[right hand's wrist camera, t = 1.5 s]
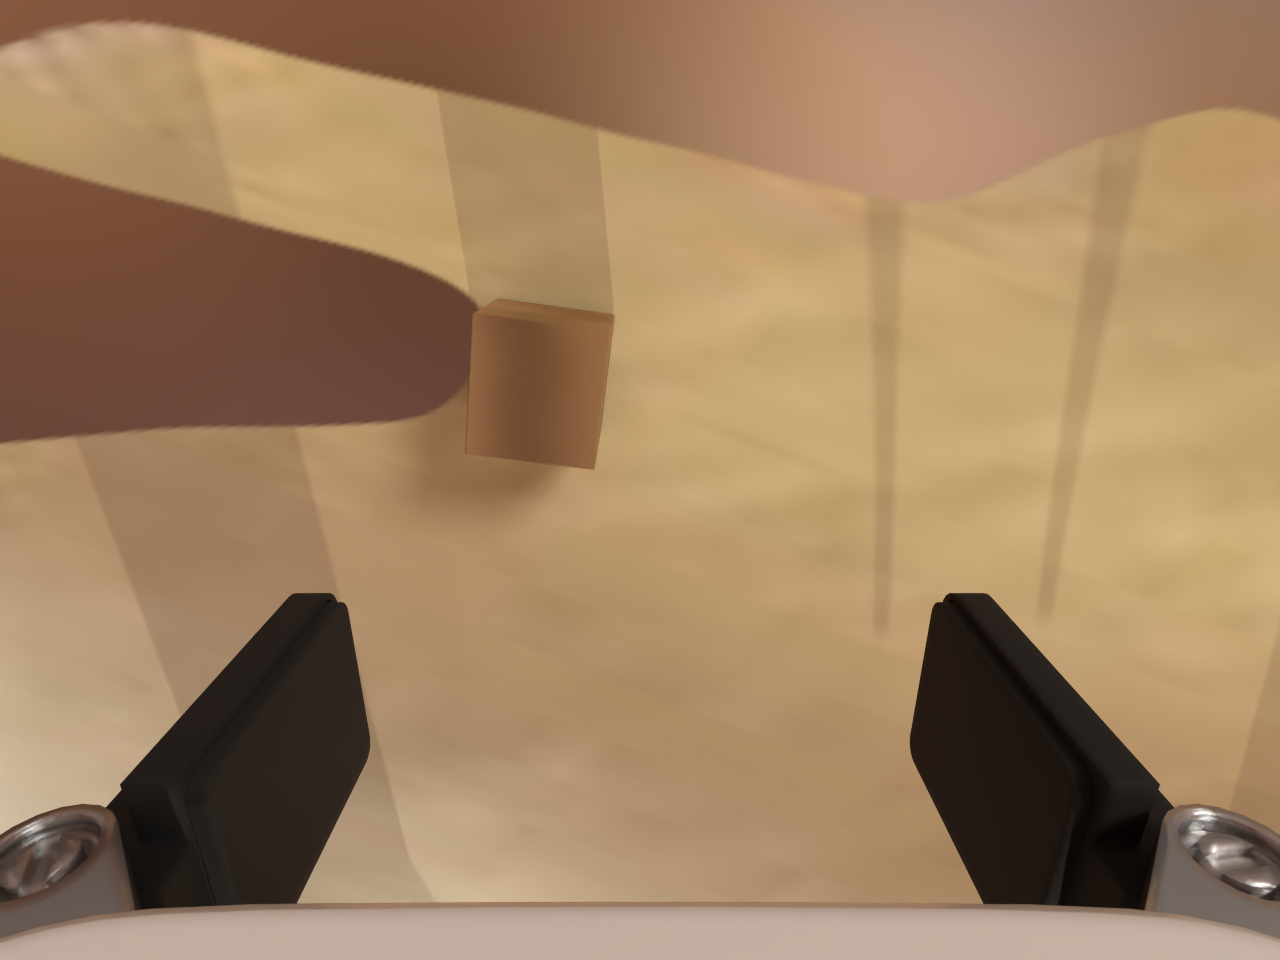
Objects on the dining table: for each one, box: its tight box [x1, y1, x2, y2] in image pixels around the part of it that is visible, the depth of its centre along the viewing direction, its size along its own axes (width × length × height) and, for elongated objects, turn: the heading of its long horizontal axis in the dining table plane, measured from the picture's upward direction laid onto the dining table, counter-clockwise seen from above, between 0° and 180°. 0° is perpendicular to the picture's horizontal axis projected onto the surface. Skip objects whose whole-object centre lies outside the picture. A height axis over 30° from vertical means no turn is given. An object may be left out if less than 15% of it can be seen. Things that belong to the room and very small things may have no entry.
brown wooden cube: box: [465, 299, 615, 470], centre depth 27 cm, size 5×5×5 cm
